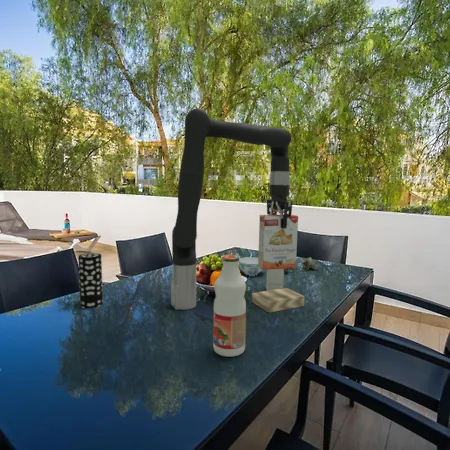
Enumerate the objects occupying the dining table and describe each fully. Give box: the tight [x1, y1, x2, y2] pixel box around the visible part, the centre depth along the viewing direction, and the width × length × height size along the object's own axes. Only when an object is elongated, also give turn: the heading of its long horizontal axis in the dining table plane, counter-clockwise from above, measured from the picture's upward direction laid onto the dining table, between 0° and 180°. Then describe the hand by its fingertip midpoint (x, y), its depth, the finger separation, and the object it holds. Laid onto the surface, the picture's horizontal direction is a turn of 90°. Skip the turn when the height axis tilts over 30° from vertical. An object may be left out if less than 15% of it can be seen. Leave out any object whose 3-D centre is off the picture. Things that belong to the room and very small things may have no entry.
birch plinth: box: [251, 287, 305, 313], centre depth 137 cm, size 17×12×4 cm
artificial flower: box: [284, 257, 320, 275], centre depth 189 cm, size 9×22×10 cm, turn 111°
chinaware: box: [238, 256, 263, 277], centre depth 181 cm, size 15×15×8 cm
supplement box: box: [265, 269, 285, 291], centre depth 153 cm, size 7×7×13 cm
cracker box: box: [257, 214, 299, 271], centre depth 132 cm, size 14×6×21 cm, turn 105°
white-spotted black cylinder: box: [77, 252, 104, 310], centre depth 133 cm, size 8×8×20 cm
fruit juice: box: [212, 254, 247, 357], centre depth 98 cm, size 9×9×28 cm
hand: (278, 227), depth 131 cm, fingers closed on cracker box, 6 cm apart
